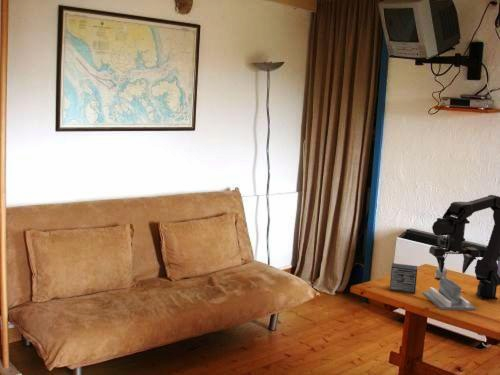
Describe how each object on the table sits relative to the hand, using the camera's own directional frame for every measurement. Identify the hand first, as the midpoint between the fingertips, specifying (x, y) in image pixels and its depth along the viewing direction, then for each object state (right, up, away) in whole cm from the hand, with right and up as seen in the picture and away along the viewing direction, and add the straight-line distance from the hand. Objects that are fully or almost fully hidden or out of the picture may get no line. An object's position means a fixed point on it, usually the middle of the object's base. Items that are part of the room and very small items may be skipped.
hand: (452, 272), depth 243 cm
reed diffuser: (+7, -8, +32) cm, 34 cm away
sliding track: (-1, -12, +1) cm, 12 cm away
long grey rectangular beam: (-1, -11, 0) cm, 11 cm away
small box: (-17, -9, +13) cm, 23 cm away
